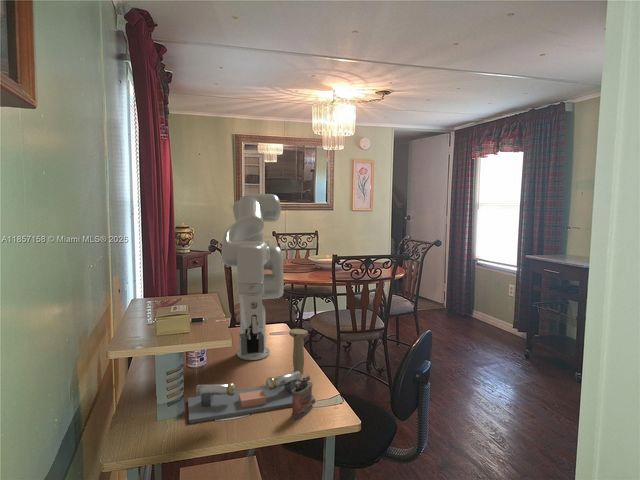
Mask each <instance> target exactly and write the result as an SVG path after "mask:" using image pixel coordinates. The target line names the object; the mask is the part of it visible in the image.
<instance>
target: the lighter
mask: <svg viewBox="0 0 640 480" xmlns="http://www.w3.org/2000/svg"><path fill="white" fill-rule="evenodd" d="M312 395H313V382H311V376H310V375H309V374H306V375H305V376H303V377H302V378H299V379H298V381H297V382H296V383H295V388H294V389H293V390H292V406H291V407H292V410H291V411H292V413H291V418H293V420H294V419H295V420H298V419H299V420H300V419H301V418H303V417H305V416H306V415H307V414H309V413H310V412H311V411H312V410H313V403H312Z"/></svg>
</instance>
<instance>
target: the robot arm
mask: <svg viewBox="0 0 640 480" xmlns="http://www.w3.org/2000/svg"><path fill="white" fill-rule="evenodd" d="M281 210H282V205H281V200H280V198H279V197H278V196H277V195H276V194H274V193H248V194H245V195H243V196H241V198H240V199H239V200H237V201H235V202H234V203H233V206H232V213H233V217H234V221H235V222H234V223H232V224H231V225H230V226H229V227H228V228H227V229H226V231H225V232H224V234H223V237H222V241H221V242H222V244H221V259H222V263H223V264H224V265H225V266H228V267H236V274H237V275H236V279H237V280H236V281H237V282H236V283H237V285H236V286H237V287H236V288H237V289H236V290H237V295H238V298H239V312H240V315H239V316H240V334H242V333H247V332H248V339H247V352H248V353H256V352H259V338H258V332H262V334H263V335H264V353H257V354H248V355H241V353H240V351H239V349H238V350H237V351H236V356H237V357H238V358H239V359H241V360H245V361H257V360H262V359H265V358H267V357H269V355H270V353H271V352H270V349H269V347H267V346H266V342H267V340H266V338H267V337H266V335H267V333H266V308H265V306H264V305H263V300H265V299H266V300H267V299H280V298H281V297H282V296H283V295H284V289H285V287H284V286H285V285H284V280H285V279H284V258H283V252H282V249H281V248H280V247H279V246H277V245H268V244H267V243H266V242H265V241H264V234H263V229H264V227H265V223H274V222H277V221H278V220H279V218H280V215H281V212H282V211H281ZM265 271H269V272H271V273H265ZM250 331H252V332H251V333H250Z"/></svg>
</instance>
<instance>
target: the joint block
mask: <svg viewBox="0 0 640 480" xmlns="http://www.w3.org/2000/svg"><path fill="white" fill-rule="evenodd" d="M251 332H252V331H250V333H251ZM258 338H259V352H256V353H248V352H247V339H248V332H247V333H242V334H241V333H239V334H238V342H239V344H238V347H239V348H238V350H239V351H240V353H241V355H248V354H257V353H264V335H263V334H262V332H258Z"/></svg>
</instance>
